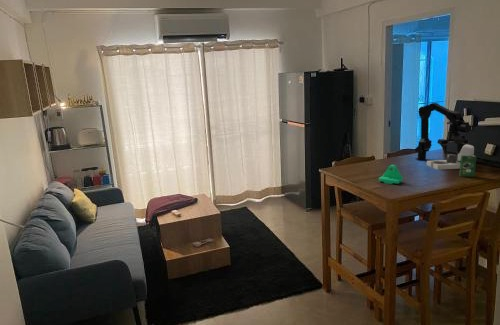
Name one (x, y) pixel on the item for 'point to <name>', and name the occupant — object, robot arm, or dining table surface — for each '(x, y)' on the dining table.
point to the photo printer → (466, 151)
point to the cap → (451, 158)
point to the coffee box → (467, 166)
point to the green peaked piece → (391, 175)
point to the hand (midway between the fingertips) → (451, 153)
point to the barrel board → (443, 164)
